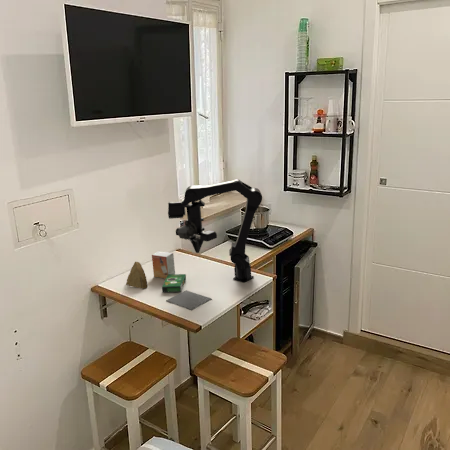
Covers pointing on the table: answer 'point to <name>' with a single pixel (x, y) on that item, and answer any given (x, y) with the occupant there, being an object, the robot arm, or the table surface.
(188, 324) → the table surface
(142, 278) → the rock
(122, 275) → the table surface
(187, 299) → the mat
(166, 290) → the coffee box
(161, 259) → the small box
